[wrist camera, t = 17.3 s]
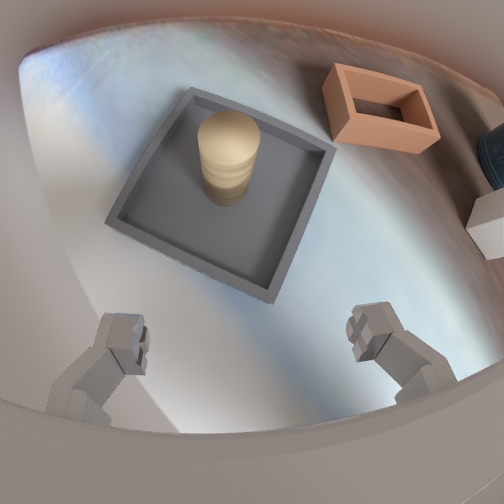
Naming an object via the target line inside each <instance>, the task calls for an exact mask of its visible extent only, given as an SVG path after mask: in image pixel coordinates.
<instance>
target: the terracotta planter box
mask: <svg viewBox="0 0 504 504" xmlns="http://www.w3.org/2000/svg"><path fill="white" fill-rule="evenodd" d="M322 92H323V97H324V101H325V106H326V110H327V115H328V120H329V124H330V129H331V135H332V140H333V142H339V143H348V144H357V145H365V146H372V147H379V148H385V149H392V150H398V151H403V152H409V153H414V154H420V153H421V152H422V151H424V150H425V149H427V148H428V147H429V146H431V145H432V144H433V143H435V142H436V141H437V140H439V139H440V138H441V137H440V134H439V131H438V128H437V125H436V122H435V120H434V117H433V114H432V112H431V109H430V106H429V104H428V101H427V99H426V97H425V94H424V92H423V90H422V87H421V86H420V85H417V84H414V83H411V82H408V81H405V80H402V79H399V78H396V77H392V76H389V75H385V74H381V73H378V72H374V71H370V70H366V69H362V68H357V67H353V66H348V65H343V64H338V63H334V65H333V67H332V68H331V70H330V72H329V74H328V76H327V78H326V80H325V82H324V84H323V86H322ZM352 98H355V99H361V100H366V101H371V102H375V103H380V104H384V105H389V106H393V107H397V108H400V110H401V113H402V116H403V119H404V122H401V121H396V120H392V119H387V118H382V117H377V116H372V115H367V114H361V113H356V110H355V106H354V102H353V99H352Z"/></svg>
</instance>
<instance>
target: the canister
mask: <svg viewBox="0 0 504 504" xmlns="http://www.w3.org/2000/svg"><path fill="white" fill-rule="evenodd" d="M478 153H479V158H480V162H481V165H482V167H483V170H484V172H485V174H486V176H487V178H488V180H489V182H490V184H491V185H492V187H493V188H494V189H495V190H499V189H501V188H503V187H504V123H502V124H501V125H499V126H498V127H496V128H495V129H493V130H491V131H489V132H487V133H485V134H484V135H483V136H482V137H481V138H480V139H479V142H478Z"/></svg>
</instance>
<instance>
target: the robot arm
mask: <svg viewBox="0 0 504 504" xmlns="http://www.w3.org/2000/svg"><path fill="white" fill-rule="evenodd" d="M352 313H353V316H351V317H350V318H349V319H348V322H347V324H346V333H347V337H348V340H349V341H350V342H351V343H353V344H354V345H353V348H352V350H353V353H354V356H355V358H356V361H357V362H362V361H368V360H374V359H375V360H374V361H375V362H376V363H378V364H379V365H380V366H381V367H382V368H383V369H384V370H385V371H386V372H387V373H388V374H389V375H390V376H391V377H392V378H393V379H394V380H395V381H396V382H397V383H398V384H399V385H400V386H401V387H402V389H401V390H400V391H399V392H398V393H397V394H396V396H395V400H396V403H397V404H396V405H393V406H390V407H386V408H383V409H379V410H376V411H372V412H368V413H364V414H360V415H356V416H352V417H348V418H343V419H339V420H334V421H329V422H323V423H318V424H312V425H306V426H299V427H292V428H285V429H276V430H267V431H256V432H241V433H215V434H192V433H165V432H151V431H139V430H130V429H123V428H116V427H111V418H110V416H109V415H108V414H107V413H106V412H105V411H104V410H103V409H102V408H101V407H102V406H103V405H104V403H105V402H106V400H107V399H108V398H109V397H110V395H111V394H112V393H113V391H114V390H115V389H116V387H117V386H118V385H119V383H120V382H121V380H122V379H123V378H124V377H125V375H126V374H127V375H145V374H146V367H147V359H146V357H145V354H146V353H147V352H148V351H149V333H148V329H147V328H146V327H145V326H144V318H143V315H140V314H121V313H104V315H103V316H102V319H101V322H100V326H99V328H98V332H97V335H96V339H95V342H94V346H93V347H89V348H88V349H87V350H86V351H85V352H84V353H83V354H82V355H81V356H80V357H79V358H78V359H77V360H76V361H75V362H74V363H73V364H72V365H71V366H70V367H69V368H68V369H67V370H66V371H65V372H64V373H63V374H62V375H61V376H60V377H59V378H58V379H56V380H55V381H54V382H53V384H52V387H51V391H50V395H49V399H48V403H47V407H46V412H45V413H44V412H40V411H37V410H33V409H30V408H27V407H24V406H21V405H18V404H15V403H12V402H9V401H6V400H3V399H1V398H0V504H504V359H503V360H500V361H498V362H497V363H495V364H493V365H491V366H489V367H487V368H485V369H483V370H481V371H479V372H477V373H475V374H473V375H471V376H469V377H467V378H464V379H462V380H460V381H457V379H456V377H455V375H454V373H453V371H452V369H451V367H450V365H449V363H448V361H447V359H446V358H445V357H444V356H443V355H441V354H440V353H438V352H437V351H436V350H434V349H433V348H432V347H430V346H429V345H427V344H426V343H425V342H423V341H422V340H420V339H419V338H418V337H416V336H415V335H413V334H412V333H411V332H409V331H408V330H406V331H405V330H404V328H403V326H402V324H401V322H400V321H399V319H398V317H397V315H396V313H395V311H394V309H393V308H392V306H391V304H390V303H389V302H380V303H370V304H362V305H356V306H355V307H354V308H353V310H352Z"/></svg>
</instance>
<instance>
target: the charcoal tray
mask: <svg viewBox="0 0 504 504" xmlns="http://www.w3.org/2000/svg"><path fill="white" fill-rule="evenodd" d="M221 111H237V112H241V113H243V114H246V115H247V116H249V117H250V118H252V119H253V120H254V121H255V123H256V124H257V126H258V128H259V130H260V143H259V146H258V150H257V154H256V158H255V162H254V166H253V170H252V174H251V177H250V181H249V185H248V189H247V193H246V195H245V197H244V198H243V199H242V200H241V201H240V202H238V203H236V204H234V205H230V206H222V205H218V204H216V203H214V202H212V201H211V200H210V199H209V198H208V196H207V195H206V192H205V188H204V181H203V174H202V167H201V160H200V153H199V145H198V130H199V127H200V126H201V124H202V123H203V121H204V120H205V119H206V118H208V117H209V116H211V115H212V114H214V113H217V112H221ZM336 149H337V148H335V147H334V146H332V145H330V144H328V143H326V142H324V141H322V140H320V139H318V138H316V137H314V136H312V135H310V134H308V133H306V132H304V131H302V130H300V129H297V128H295V127H293V126H291V125H289V124H287V123H284V122H282V121H280V120H278V119H275V118H273V117H271V116H268V115H266V114H264V113H261V112H259V111H256V110H254V109H251V108H249V107H246V106H244V105H241V104H239V103H236V102H233V101H231V100H228V99H225V98H222V97H220V96H217V95H214V94H211V93H208V92H205V91H202V90H199V89H196V88H193V87H190V88H189V90H188V91H187V92H186V94H185V95H184V96H183V98H182V99H181V100H180V102H179V103H178V104H177V106H176V107H175V108H174V110H173V111H172V112H171V114H170V115H169V117H168V118H167V119H166V121H165V122H164V124H163V125H162V127H161V128H160V129H159V131H158V132H157V134H156V135H155V137H154V138H153V140H152V141H151V143H150V144H149V146H148V148H147V149H146V151H145V152H144V154H143V155H142V157H141V159H140V160H139V162H138V163H137V165H136V167H135V168H134V170H133V172H132V173H131V175H130V177H129V179H128V180H127V182H126V184H125V186H124V187H123V189H122V191H121V193H120V194H119V196H118V198H117V200H116V202H115V204H114V206H113V207H112V209H111V211H110V213H109V215H108V217H107V219H106V221H105V224H106V225H108V226H109V227H111V228H113V229H114V230H116V231H118V232H120V233H122V234H124V235H126V236H128V237H130V238H132V239H134V240H135V241H137V242H139V243H141V244H143V245H145V246H147V247H149V248H151V249H153V250H155V251H157V252H159V253H161V254H163V255H165V256H167V257H169V258H172V259H174V260H176V261H178V262H180V263H182V264H184V265H186V266H188V267H190V268H192V269H194V270H196V271H198V272H201V273H203V274H205V275H207V276H209V277H211V278H213V279H215V280H218V281H220V282H222V283H224V284H226V285H228V286H231V287H233V288H235V289H237V290H239V291H241V292H244V293H246V294H248V295H250V296H253V297H255V298H257V299H259V300H261V301H264V302H266V303H269V304H274V302H275V299H276V297H277V295H278V293H279V290H280V288H281V286H282V283H283V281H284V279H285V276H286V274H287V272H288V269H289V267H290V265H291V262H292V260H293V258H294V255H295V253H296V251H297V248H298V246H299V243H300V241H301V239H302V236H303V234H304V231H305V229H306V226H307V224H308V221H309V219H310V216H311V214H312V212H313V209H314V207H315V204H316V201H317V199H318V196H319V194H320V191H321V189H322V186H323V184H324V181H325V178H326V176H327V173H328V171H329V168H330V165H331V163H332V160H333V157H334V155H335V152H336Z"/></svg>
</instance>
